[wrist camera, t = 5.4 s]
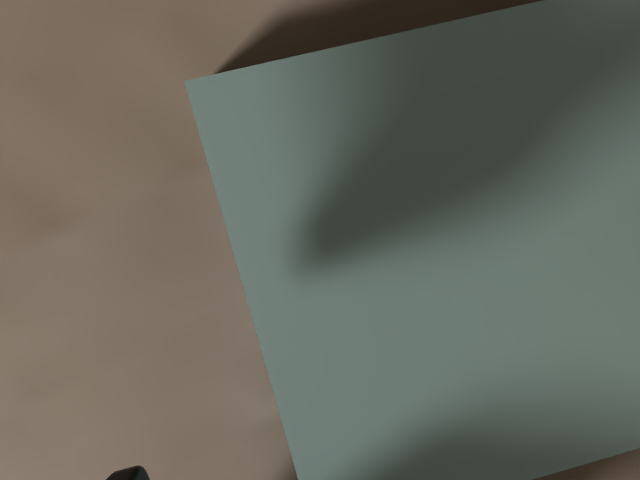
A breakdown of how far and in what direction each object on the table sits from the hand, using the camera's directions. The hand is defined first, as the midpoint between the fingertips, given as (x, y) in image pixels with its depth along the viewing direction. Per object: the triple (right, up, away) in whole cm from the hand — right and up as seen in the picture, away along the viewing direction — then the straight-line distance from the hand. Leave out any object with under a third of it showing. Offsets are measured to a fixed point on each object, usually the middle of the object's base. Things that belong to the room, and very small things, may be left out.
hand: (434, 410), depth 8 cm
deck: (+7, +4, +7) cm, 11 cm away
